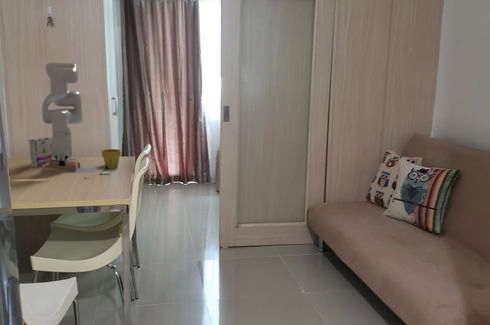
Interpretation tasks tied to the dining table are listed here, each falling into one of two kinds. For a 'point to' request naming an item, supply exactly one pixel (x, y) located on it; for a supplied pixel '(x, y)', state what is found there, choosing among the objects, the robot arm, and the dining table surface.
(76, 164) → the cube
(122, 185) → the dining table surface
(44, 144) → the candy bar box
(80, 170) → the deck
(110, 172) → the pad
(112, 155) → the plant pot
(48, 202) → the dining table surface
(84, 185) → the dining table surface
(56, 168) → the frame
